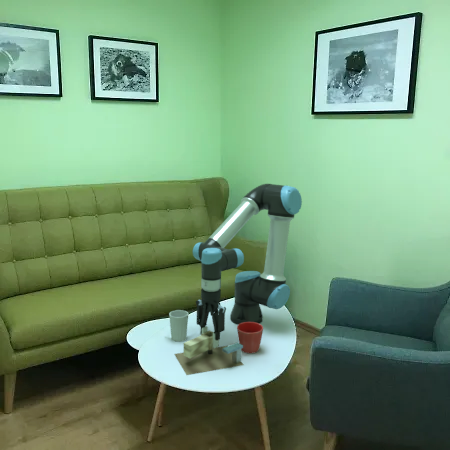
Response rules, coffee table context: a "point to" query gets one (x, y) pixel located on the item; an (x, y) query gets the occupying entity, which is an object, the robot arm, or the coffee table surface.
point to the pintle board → (206, 361)
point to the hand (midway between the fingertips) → (209, 344)
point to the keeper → (234, 352)
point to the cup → (178, 325)
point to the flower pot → (250, 336)
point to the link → (199, 344)
